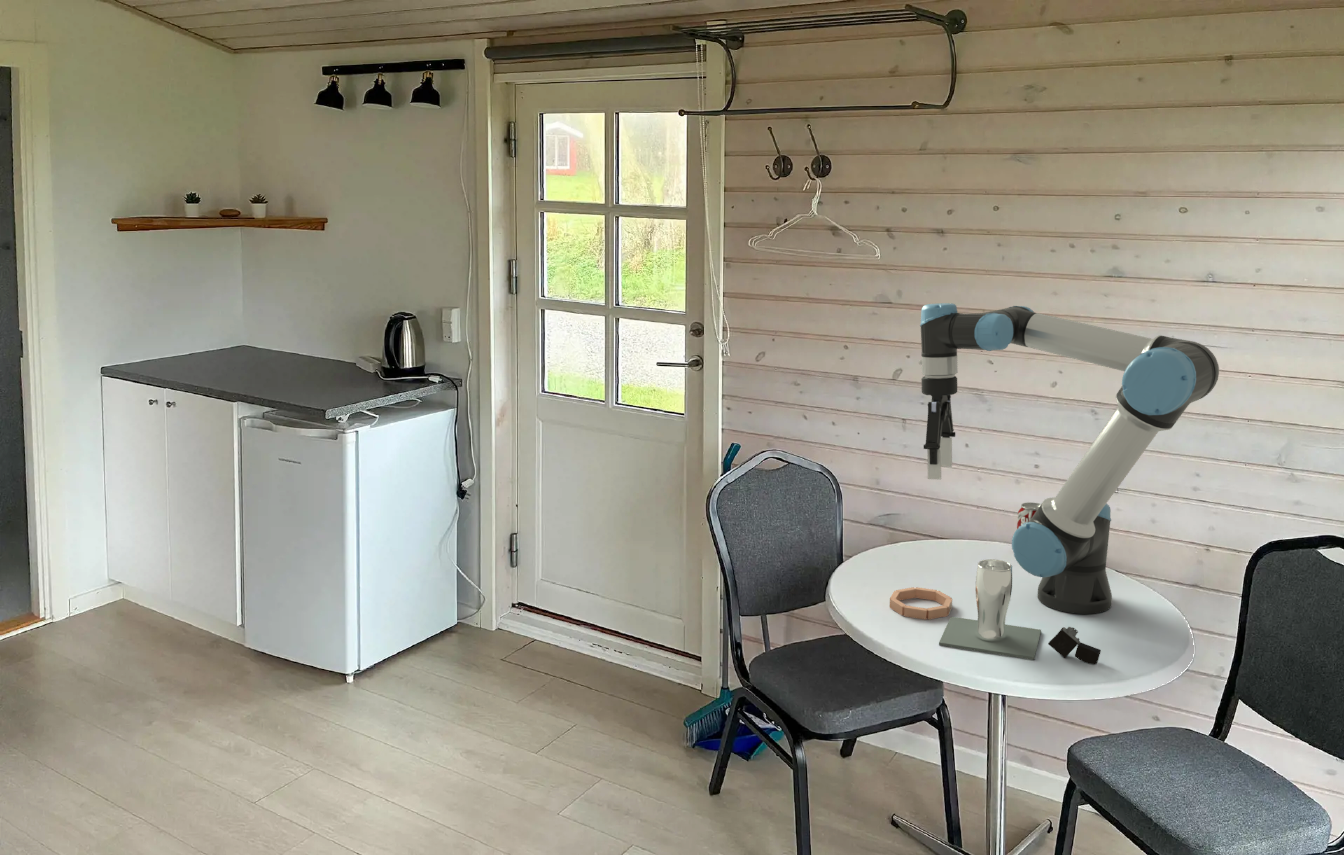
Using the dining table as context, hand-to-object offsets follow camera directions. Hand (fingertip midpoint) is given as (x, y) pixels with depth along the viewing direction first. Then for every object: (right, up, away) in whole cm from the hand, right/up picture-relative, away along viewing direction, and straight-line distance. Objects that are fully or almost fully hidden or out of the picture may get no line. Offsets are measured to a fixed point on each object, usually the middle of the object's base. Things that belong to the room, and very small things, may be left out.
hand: (940, 472), depth 250 cm
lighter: (+19, -35, -29) cm, 49 cm away
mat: (+5, -32, -21) cm, 39 cm away
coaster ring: (-5, -29, -5) cm, 29 cm away
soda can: (+28, -21, +28) cm, 45 cm away
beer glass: (+5, -32, -21) cm, 38 cm away
